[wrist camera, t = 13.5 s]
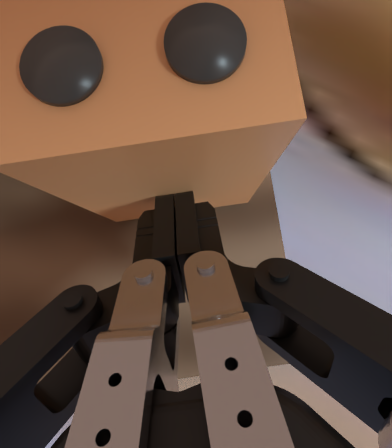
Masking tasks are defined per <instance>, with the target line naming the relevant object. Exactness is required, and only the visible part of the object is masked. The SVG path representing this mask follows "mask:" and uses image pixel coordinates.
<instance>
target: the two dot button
mask: <svg viewBox="0 0 392 448" xmlns="http://www.w3.org/2000/svg"><path fill="white" fill-rule="evenodd" d="M306 119H307V116H306V111H305V106H304V101H303V96H302V91H301V86H300V80H299V75H298V70H297V65H296V60H295V55H294V50H293V45H292V40H291V35H290V30H289V25H288V20H287V15H286V10H285V5H284V0H0V173H2V174H5V175H7V176H9V177H12V178H14V179H16V180H19V181H21V182H23V183H26V184H28V185H30V186H33V187H35V188H38V189H40V190H42V191H45V192H47V193H49V194H52V195H54V196H56V197H59V198H61V199H63V200H66V201H68V202H70V203H73V204H75V205H78V206H80V207H82V208H85V209H87V210H89V211H92V212H94V213H96V214H99V215H101V216H103V217H106V218H108V219H111V220H113V221H115V222H119V221H126V220H133V219H139V217H140V216H141V215H142V213H143V212H144V211H146V210H153V209H155V197H156V196H163V195H170V194H174V197H175V194H176V193H183V192H190V191H193V194H194V200H195V203H200V202H207V201H208V202H209V203H210V204H211V205H212V206H213V207H214V208H215V207H221V206H228V205H235V204H242V203H248V202H249V200H250V199H251V197H252V196H253V195H254V193H255V192H256V190H257V189H258V187H259V186H260V185H261V183H262V182H263V180H264V179H265V177H266V176H267V175H268V173H269V172H270V170H271V169H272V167H273V166H274V165H275V163H276V162H277V160H278V159H279V157H280V156H281V155H282V153H283V152H284V150H285V149H286V147H287V146H288V145H289V143H290V142H291V140H292V139H293V137H294V136H295V135H296V133H297V132H298V130H299V129H300V127H301V126H302V125H303V123H304V122H305V120H306Z"/></svg>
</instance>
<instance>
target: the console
mask: <svg viewBox="0 0 392 448" xmlns="http://www.w3.org/2000/svg"><path fill="white" fill-rule="evenodd" d="M215 212H216V217H217V221H218V226H219V231H220V236H221V240H222V245H223V250H224V253H225V255H226V257H227V258H228V259H229V260H230V261H231V262H233V263H235V264H237V265H240V266H244V267H252V268H256V267H257V266H258V265H259V264H260V263H261V262H262V261H264V260H266V259H269V258H285V253H284V247H283V241H282V236H281V230H280V225H279V219H278V213H277V208H276V202H275V196H274V191H273V185H272V180H271V174H270V172H269V173H268V175H267V176H266V177H265V179H264V180H263V182H262V183H261V185H260V186H259V187H258V189H257V190H256V192H255V193H254V195H253V196H252V197H251V199H250V200H249V202H248V203H242V204H235V205H228V206H221V207H215ZM137 224H138V219H133V220H126V221H119V222H115V221H113V220H111V219H108V218H106V217H103V216H101V215H99V214H96V213H94V212H92V211H89V210H87V209H85V208H82V207H80V206H78V205H75V204H73V203H70V202H68V201H66V200H63V199H61V198H59V197H56V196H54V195H52V194H49V193H47V192H45V191H42V190H40V189H38V188H35V187H33V186H30V185H28V184H26V183H23V182H21V181H19V180H16V179H14V178H12V177H9V176H7V175H5V174H2V173H0V345H1V344H2V343H3V342H4V341H5V340H7V339H8V338H9V337H10V336H11V335H12V334H14V333H15V332H16V331H17V330H18V329H19V328H21V327H22V326H23V325H24V324H25V323H26V322H28V321H29V320H30V319H31V318H32V317H33V316H35V315H36V314H37V313H38V312H39V311H40V310H42V309H43V308H44V307H45V306H46V305H47V304H49V303H50V302H51V301H52V300H53V299H54V298H56V297H57V296H58V295H59V294H60V293H62V292H63V291H64V290H66V289H68V288H70V287H73V286H76V285H89V286H92V287H93V288H94V289H95V290H96V292H98V291H101V290H103V289H106V288H108V287H111V286H113V285H115V284H117V283H119V282H120V281H121V279H122V276H123V273H124V272H125V270H126V269H127V268H128V267H129V266H130V265H132V262H133V254H134V247H135V239H136V231H137ZM285 259H286V258H285ZM185 298H186V303H179V321H180V331H179V351H178V372H177V377H178V379H180V378H187V377H194V376H200V375H199V369H198V363H197V356H196V350H195V343H194V337H193V331H192V318H191V312H190V305H189V302H188V300H187V296H186V291H185ZM256 336H257V335H256ZM257 339H258V342H259V345H260V348H261V351H262V354H263V357H264V360H265V363H266V366H267V367H268V366H275V365H282V364H290V363H288V362H287V361H286V360H285V359H283V358H282V357H281V356H280V355H278V354H277V353H276V352H275V351H273V350H272V349H271V348H269V347H268V346H267V345H266V344H264V343H263V342H262V341H261V340H260V339H259V338H258V336H257ZM72 348H73V347H71V348H70V349H69V350H68V351H67V352H66V353H65V354H64V355H63V356H62V357H61V358H60V359H59V360H58V361H57V362H56V363H55V364H54V365H53V366H52V367H51V368H50V369H49V370H48V371H47V372H46V374H45V375H44V376H43V377H42V378H41V379H40V380H39V381H38V382H37V383H39V382H40V381H41V380H42V379H43V378H44V377H45V376H46V375H47V374H48V373H49V372H50V371H51V370H52V369H53V367H54V366H55V365H56V364H57V363H58V362H59V361H60V360H61V359H62V358H63V357H64V356H65V355H66V354H67V353H68V352H69V351H70V350H71V349H72Z"/></svg>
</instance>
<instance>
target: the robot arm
mask: <svg viewBox="0 0 392 448" xmlns="http://www.w3.org/2000/svg"><path fill="white" fill-rule="evenodd" d="M185 291H186V296H187V300H188V302H189V305H190V312H191V318H192V331H193V337H194V343H195V350H196V356H197V363H198V369H199V375H200V382H201V383H200V384H198V385H195V386H193V387H191V388H188V389H186V390H183V391H180V392H179V388H178V377H177V372H178V351H179V331H180V321H179V303H186V298H185ZM256 335H257V336H258V338H259V339H260V340H261V341H262V342H263V343H264V344H266V345H267V346H268V347H269V348H271V349H272V350H273V351H275V352H276V353H277V354H278V355H280V356H281V357H282V358H283V359H285V360H286V361H287V362H288V363H290V364H291V365H292V366H293V367H295V368H296V369H297V370H299V371H300V372H301V373H302V374H304V375H305V376H306V377H307V378H309V379H310V380H311V381H312V382H314V383H315V384H316V385H317V386H319V387H320V388H321V389H323V390H324V391H325V392H326V393H328V394H329V395H330V396H331V397H333V398H334V399H335V400H336V401H338V402H339V403H340V404H341V405H343V406H344V407H345V408H347V409H348V410H349V411H350V412H352V413H353V414H354V415H355V416H357V417H358V418H359V419H360V420H362V421H363V422H364V423H365V424H367V425H368V426H369V427H371V428H372V429H373V430H374V431H376V432H377V433H378V444H379V448H392V315H391V314H389V313H387V312H386V311H384V310H382V309H380V308H378V307H376V306H374V305H373V304H371V303H369V302H367V301H365V300H363V299H362V298H360V297H358V296H356V295H354V294H352V293H350V292H349V291H347V290H345V289H343V288H341V287H339V286H337V285H336V284H334V283H332V282H330V281H328V280H326V279H324V278H323V277H321V276H319V275H317V274H315V273H313V272H312V271H310V270H308V269H306V268H304V267H302V266H300V265H299V264H297V263H295V262H293V261H291V260H288V259H285V258H269V259H266V260H264V261H262V262H261V263H260V264H259V265H258V266H257V267H256V268H252V267H244V266H240V265H237V264H235V263H233V262H231V261H230V260H229V259H228V258H227V257H226V255H225V253H224V250H223V245H222V240H221V236H220V231H219V226H218V221H217V217H216V212H215V208H214V207H213V206H212V205H211V204H210V203H209V202H208V201H207V202H200V203H195V200H194V194H193V191H190V192H183V193H176V194H175V197H174V194H170V195H163V196H156V197H155V209H153V210H146V211H144V212H143V213H142V215H141V216H140V217H139V219H138V224H137V231H136V239H135V247H134V254H133V262H132V265H130V266H129V267H128V268H127V269H126V270H125V272H124V273H123V276H122V279H121V281H120V282H119V283H117V284H115V285H113V286H111V287H108V288H106V289H103V290H101V291H98V292H96V290H95V289H94V288H93V287H92V286H89V285H76V286H73V287H70V288H68V289H66V290H64V291H63V292H62V293H60V294H59V295H58V296H57V297H56V298H54V299H53V300H52V301H51V302H50V303H49V304H47V305H46V306H45V307H44V308H43V309H42V310H40V311H39V312H38V313H37V314H36V315H35V316H33V317H32V318H31V319H30V320H29V321H28V322H26V323H25V324H24V325H23V326H22V327H21V328H19V329H18V330H17V331H16V332H15V333H14V334H12V335H11V336H10V337H9V338H8V339H7V340H5V341H4V342H3V343H2V344H1V345H0V448H45V447H46V445H47V444H48V443H49V442H50V441H51V439H52V438H53V437H54V436H55V435H56V434H57V432H58V431H59V430H60V429H61V428H62V426H63V425H64V424H65V423H66V422H67V420H68V419H69V418H70V417H71V416H72V415H73V413H74V412H75V413H74V416H73V420H72V423H71V425H70V426H69V427H68V428H67V429H66V430H65V431H64V432H63V433H62V434H61V435H60V436H59V438H58V439H57V440H56V441H55V443H54V444H53V445H52V446H51V448H355V447H354V446H353V445H352V444H350V443H349V442H348V441H347V440H346V439H345V438H344V437H343V436H342V435H340V434H339V433H338V432H337V431H336V430H335V429H334V428H333V427H332V426H331V425H329V424H328V423H327V422H326V421H325V420H324V419H323V418H322V417H321V416H320V415H318V414H317V413H316V412H315V411H314V410H313V409H312V408H311V407H310V406H308V405H307V404H306V403H305V402H304V401H302V400H301V399H300V398H298V397H297V396H295V395H294V394H292V393H290V392H288V391H286V390H285V389H282V388H280V387H277V386H274V385H273V383H272V380H271V377H270V374H269V371H268V368H267V366H266V363H265V360H264V357H263V354H262V351H261V348H260V345H259V342H258V339H257V336H256ZM71 347H73V348H72V349H71V350H70V351H69V352H68V353H67V354H66V355H65V356H64V357H63V358H62V359H61V360H60V361H59V362H58V363H57V364H56V365H55V366H54V367H53V369H52V370H51V371H50V372H49V373H48V374H47V375H46V376H45V377H44V378H43V379H42V380H41V381H40V382H39V383H37V382H38V381H39V380H40V379H41V378H42V377H43V376H44V375H45V374H46V372H47V371H48V370H49V369H50V368H51V367H52V366H53V365H54V364H55V363H56V362H57V361H58V360H59V359H60V358H61V357H62V356H63V355H64V354H65V353H66V352H67V351H68V350H69V349H70V348H71Z"/></svg>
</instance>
